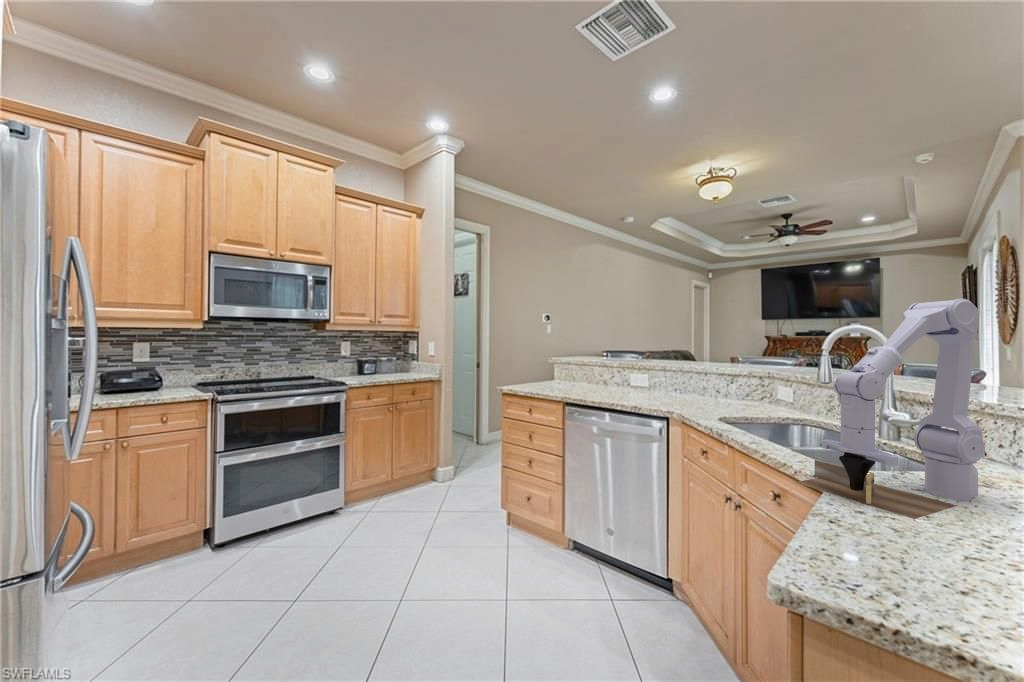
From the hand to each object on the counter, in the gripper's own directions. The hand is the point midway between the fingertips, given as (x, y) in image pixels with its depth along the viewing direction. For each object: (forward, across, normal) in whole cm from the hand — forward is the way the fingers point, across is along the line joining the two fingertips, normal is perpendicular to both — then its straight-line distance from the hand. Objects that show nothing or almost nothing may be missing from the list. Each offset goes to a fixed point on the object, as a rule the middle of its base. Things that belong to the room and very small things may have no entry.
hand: (856, 489), depth 89 cm
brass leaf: (+1, +1, +2) cm, 3 cm away
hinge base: (+2, -2, +5) cm, 6 cm away
